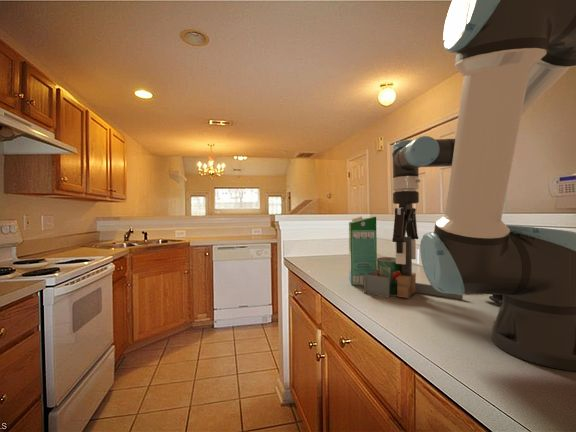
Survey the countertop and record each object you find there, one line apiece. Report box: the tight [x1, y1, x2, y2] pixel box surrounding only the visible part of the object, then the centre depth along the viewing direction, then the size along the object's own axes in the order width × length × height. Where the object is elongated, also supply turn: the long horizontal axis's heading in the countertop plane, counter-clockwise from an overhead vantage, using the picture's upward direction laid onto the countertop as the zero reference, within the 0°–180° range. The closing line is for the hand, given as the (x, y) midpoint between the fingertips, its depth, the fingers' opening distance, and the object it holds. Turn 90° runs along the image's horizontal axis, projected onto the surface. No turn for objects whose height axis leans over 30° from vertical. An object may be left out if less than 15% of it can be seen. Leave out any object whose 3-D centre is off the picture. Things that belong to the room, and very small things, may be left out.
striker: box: [396, 236, 417, 299], centre depth 88 cm, size 9×3×18 cm, turn 141°
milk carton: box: [348, 215, 378, 286], centre depth 105 cm, size 9×9×25 cm
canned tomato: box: [377, 256, 402, 297], centre depth 91 cm, size 8×8×11 cm
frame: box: [363, 270, 464, 301], centre depth 87 cm, size 12×26×6 cm, turn 51°
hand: (406, 261), depth 88 cm, fingers open, 10 cm apart
